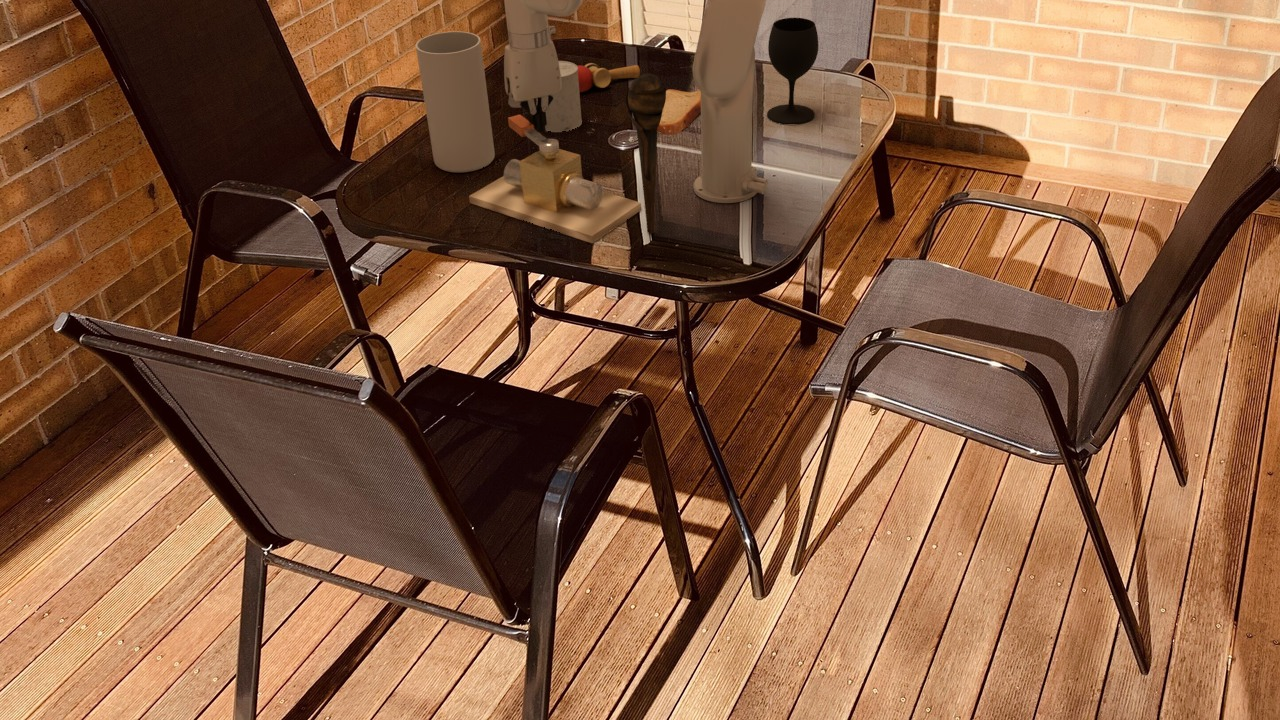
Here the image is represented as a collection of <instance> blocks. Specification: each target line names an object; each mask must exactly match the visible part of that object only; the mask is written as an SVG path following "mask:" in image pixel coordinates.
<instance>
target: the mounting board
mask: <svg viewBox="0 0 1280 720" xmlns="http://www.w3.org/2000/svg"><path fill="white" fill-rule="evenodd" d="M468 199H469V203H470V204H472V205H475V206H478V207H481V208H484V209H487V210H490V211H493V212H496V213H498V214H502V215H505V216H508V217H511V218H515V219H517V220H520V221H523V220H524V221H523V222H526V221H527V222H526V223H529V222H530V223H529V224H532V223H533V224H532V225H536V226H538V227H541V228H544V227H545V229H547V230H550V229H552V230H551V231H553V230H554V232H556V231H557V233H559V232H560V233H559V234H563V235H566V236H569V237H572V238H574V239H578V240H580V241H583V242H587V243H590V244H594V243H595V242H597V241H598V240H600V239H601V238H603V237H605V234H606V235H607V234H609V233H610V232H611V231H613V230H614V229H616V228H617V227H619V226H620V225H622V224H623V223H625V222H627V221H628V220H629V219H630V218H632V217H634V216H635V215H637V214H638V213H639V212H641V211H642V202H640V201H637V200H633V199H629V198H626V197H623V196H619V195H616V194H613V193H610V192H606V191H603V196H602V200H601V203H600V204H599V206H598V207H597V208H596V209H594V210H589V209H586V208H583V207H580V206H575V207H566V208H564V209H563V210H561V211H559V212H558V213H555V212H552V211H549V210H546V209H543V208H539V207H536V206H533V205H530V204H527V203H524V196H523V190H522V188H519V187H515V186H512V185H509V184H507V183H506V182H505V180H504V175H503V176H501V177H499V178H497V179H496V180H494V181H492V182H491V183H489V184H487V185H486V186H484V187H482V188H481V189H479V190H476V191H475V192H473V193H472V194H470V195H469V196H468ZM627 219H628V220H627ZM624 221H625V222H624ZM621 223H622V224H621ZM619 224H620V225H619ZM618 225H619V226H618ZM615 227H616V228H615ZM613 228H614V229H613ZM612 229H613V230H612ZM610 230H611V231H610ZM609 231H610V232H609ZM608 232H609V233H608Z"/></svg>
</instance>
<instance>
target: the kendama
mask: <svg viewBox="0 0 1280 720" xmlns="http://www.w3.org/2000/svg"><path fill="white" fill-rule="evenodd" d="M577 67H578V81H579V93H584V92H587V91H589V90H590V89H591V88H592V87H594V86H595V87H597V88H599V89H601V88H602V89H603V88H606V87H608V86H609V85H610V83H611V81H612V79H613V80H614V79H617V80H618V79H636V78H637V77H638V76H640V75H641V69H640V67H639V65H638V64H634V65H628V66H624V67H619V68H618V67H617V68H614V69H609V70H608V69H606V68H605V67H600V66H599V65H598V64H596V63H592V62H590V63H586V64H585V65H577Z"/></svg>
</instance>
